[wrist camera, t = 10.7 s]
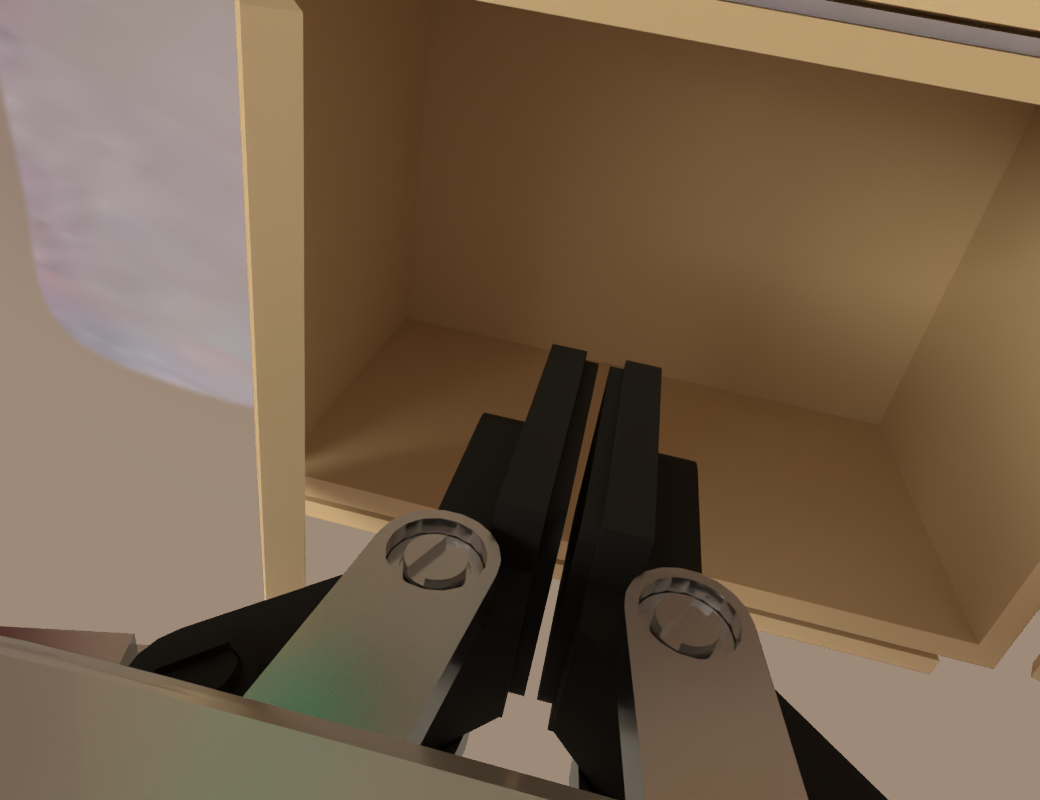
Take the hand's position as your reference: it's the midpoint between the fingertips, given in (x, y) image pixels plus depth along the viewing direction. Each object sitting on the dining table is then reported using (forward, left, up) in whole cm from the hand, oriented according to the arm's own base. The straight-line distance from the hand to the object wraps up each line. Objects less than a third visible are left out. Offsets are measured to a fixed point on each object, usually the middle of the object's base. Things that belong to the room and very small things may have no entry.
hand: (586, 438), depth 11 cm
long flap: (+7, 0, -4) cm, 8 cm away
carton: (-1, 0, -14) cm, 14 cm away
